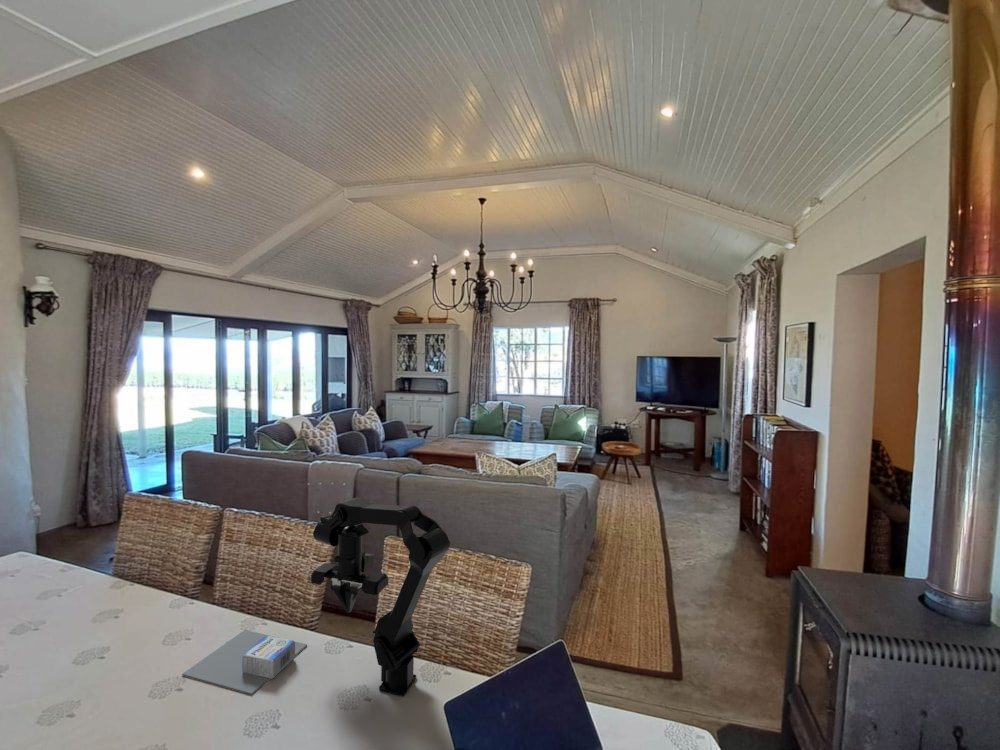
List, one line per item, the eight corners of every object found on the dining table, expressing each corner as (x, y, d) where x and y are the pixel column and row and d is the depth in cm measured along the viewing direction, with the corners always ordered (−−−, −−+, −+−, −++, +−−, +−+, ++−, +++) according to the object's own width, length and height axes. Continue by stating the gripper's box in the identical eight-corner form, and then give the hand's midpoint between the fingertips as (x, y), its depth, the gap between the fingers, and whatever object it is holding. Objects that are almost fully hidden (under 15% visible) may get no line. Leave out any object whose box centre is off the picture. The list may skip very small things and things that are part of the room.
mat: (307, 645, 117) (307, 644, 117) (251, 695, 100) (251, 693, 100) (245, 631, 123) (245, 629, 123) (182, 675, 105) (182, 673, 105)
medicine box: (273, 661, 104) (241, 654, 106) (273, 679, 104) (241, 673, 106) (295, 640, 112) (265, 634, 114) (295, 657, 112) (265, 651, 114)
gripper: (399, 542, 117) (398, 601, 118) (337, 533, 122) (336, 589, 123) (376, 561, 106) (375, 625, 107) (309, 549, 111) (308, 611, 112)
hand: (349, 611), depth 112 cm, fingers closed
